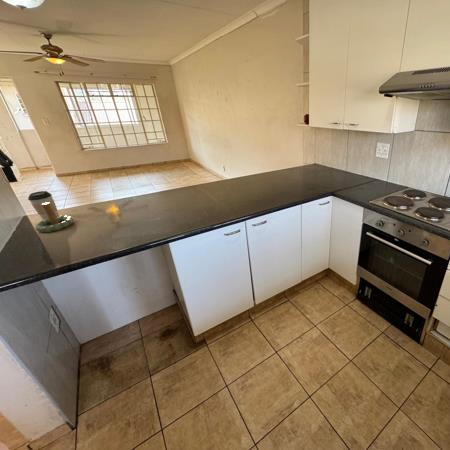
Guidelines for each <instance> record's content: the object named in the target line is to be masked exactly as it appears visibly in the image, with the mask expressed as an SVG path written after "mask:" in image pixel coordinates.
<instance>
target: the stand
mask: <svg viewBox="0 0 450 450" xmlns="http://www.w3.org/2000/svg"><path fill="white" fill-rule="evenodd" d="M41 205H42V207H43V209H44V210H45V212H46V214H47V216H48V218H49V220H50V222H51V225H54V224H58V223H61V222H59V220H58V218H57V216H56V214H55V212H54V210H53V208H52V206H51V204H50V203H49V202H48V203H43V204H41ZM48 226H49V225H48Z"/></svg>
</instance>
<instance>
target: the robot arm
mask: <svg viewBox="0 0 450 450" xmlns="http://www.w3.org/2000/svg"><path fill="white" fill-rule="evenodd" d="M0 166H1V167H0V169H1V171H2V172H3V174H4V177H5V178H6V180H7V182H8V183H17V182H19V181H18V179H17V177H16V175H15V173H14V170H13V169H12V167H14V161H13V160H12V159H11V158H10V157H9V156H8V155H7V154H6V153H5V152H4V151H3V150H2V149H0Z"/></svg>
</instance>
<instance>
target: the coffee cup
mask: <svg viewBox="0 0 450 450" xmlns="http://www.w3.org/2000/svg"><path fill="white" fill-rule="evenodd" d="M27 198H28V199H27V200H28V201H29V202H30V204H31V206H32V207H33V209H34V210H35V212H36V213H37V214H38V215H39V217H40V218H41V221H43V220H46V219H49V218H48V216H47V214H46V212H45V210H44V209H43V207H42V205H41V204H43V203H48V202H49V203H50V204H51V206H52V208H53V210H54V212H55V214H56V216H60V214H59V211H58V207H57V205H56V203H55V199H54V198H53V194H52V193H50V192H48V191H47V190H40V191H35V192H32V193H29V196H27Z"/></svg>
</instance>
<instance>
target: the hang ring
mask: <svg viewBox="0 0 450 450" xmlns="http://www.w3.org/2000/svg"><path fill="white" fill-rule="evenodd" d="M57 218H58V220H59V222H61V223H58V224H54V225H51V222H50V220H49V219H46V220H41V221H39V222H37V223H36V224H35V227H34V229H35V231H36V232H39V233H51V232H56V231H61V230H63V229H65V228H69V227H70V226H71V225H73V224H74V218H73V216H69V215H59V216H57ZM48 225H49V226H48Z"/></svg>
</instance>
